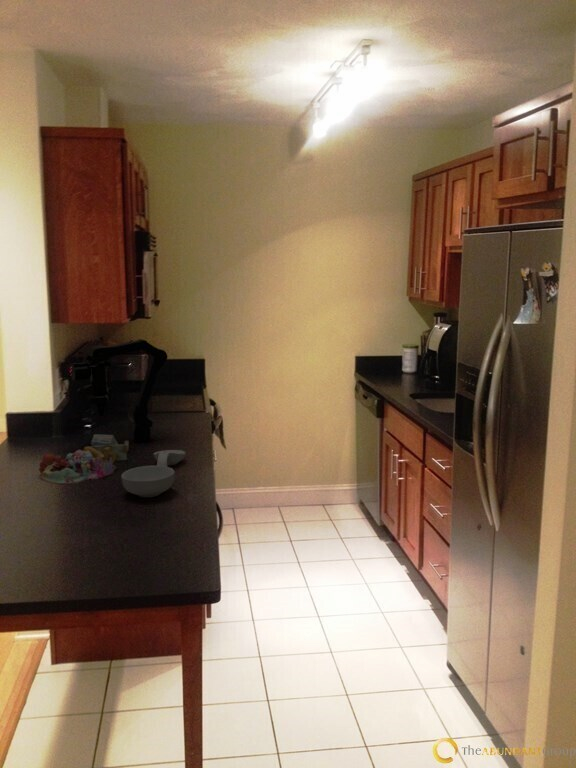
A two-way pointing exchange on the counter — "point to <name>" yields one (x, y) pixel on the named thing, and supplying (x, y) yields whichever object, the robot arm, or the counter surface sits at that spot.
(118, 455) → the pair of wooden bars
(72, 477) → the candy landscape model
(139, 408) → the robot arm
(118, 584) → the counter surface
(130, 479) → the cereal bowl
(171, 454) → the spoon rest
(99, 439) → the medicine box
